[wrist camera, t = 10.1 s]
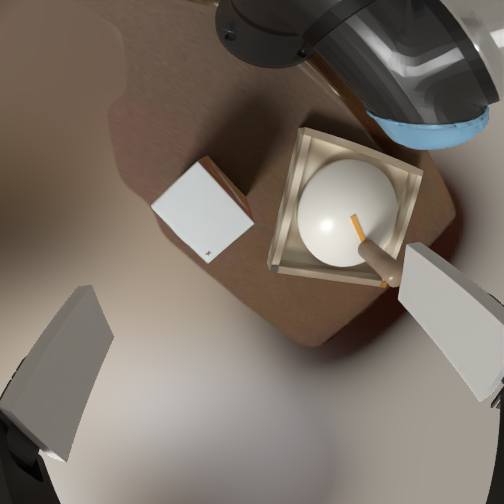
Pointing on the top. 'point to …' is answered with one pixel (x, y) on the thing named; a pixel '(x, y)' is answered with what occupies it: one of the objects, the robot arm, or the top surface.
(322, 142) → the dial housing
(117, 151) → the top surface
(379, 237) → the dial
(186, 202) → the small box
